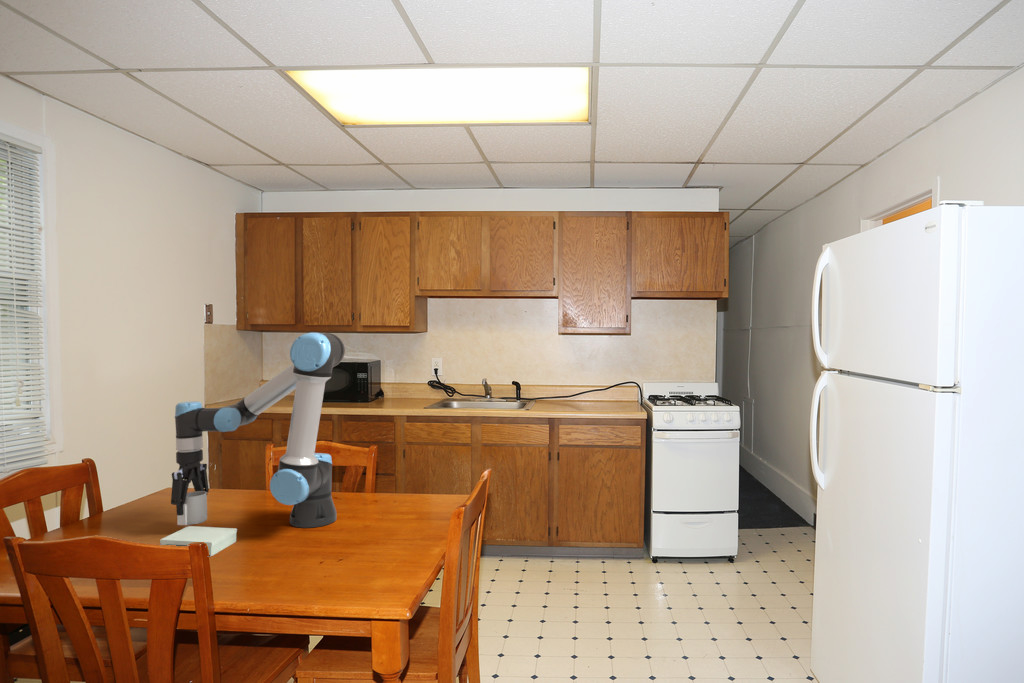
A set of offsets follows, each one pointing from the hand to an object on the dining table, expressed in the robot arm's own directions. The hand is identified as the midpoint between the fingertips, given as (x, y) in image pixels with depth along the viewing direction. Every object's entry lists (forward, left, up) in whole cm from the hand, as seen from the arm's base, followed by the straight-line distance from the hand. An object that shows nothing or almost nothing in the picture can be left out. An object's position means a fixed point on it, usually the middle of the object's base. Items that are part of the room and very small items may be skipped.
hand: (191, 520), depth 183 cm
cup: (0, -1, 0) cm, 1 cm away
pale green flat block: (-12, +13, -3) cm, 18 cm away
